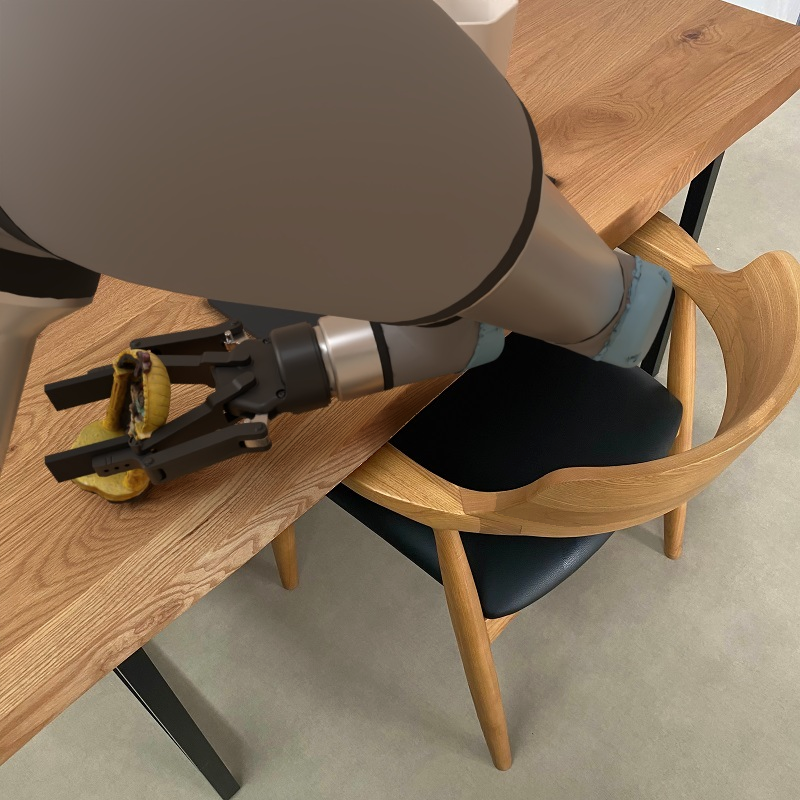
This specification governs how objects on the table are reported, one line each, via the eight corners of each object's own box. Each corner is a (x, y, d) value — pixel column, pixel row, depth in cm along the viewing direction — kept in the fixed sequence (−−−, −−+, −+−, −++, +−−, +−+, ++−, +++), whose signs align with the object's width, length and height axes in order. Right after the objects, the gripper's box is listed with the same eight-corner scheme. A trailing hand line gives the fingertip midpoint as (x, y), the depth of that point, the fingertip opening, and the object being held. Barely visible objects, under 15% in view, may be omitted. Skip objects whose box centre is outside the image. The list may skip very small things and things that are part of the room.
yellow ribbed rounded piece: (208, 428, 74) (161, 312, 63) (203, 501, 69) (151, 389, 58) (85, 443, 74) (15, 329, 63) (71, 517, 69) (-8, 408, 58)
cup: (511, 117, 103) (518, -20, 90) (510, 163, 97) (518, 22, 84) (425, 117, 104) (420, -18, 91) (419, 162, 98) (412, 24, 85)
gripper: (357, 479, 65) (71, 559, 62) (306, 316, 77) (66, 376, 74) (346, 422, 59) (30, 507, 56) (293, 256, 71) (32, 318, 68)
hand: (51, 432), depth 65 cm, fingers closed on yellow ribbed rounded piece, 7 cm apart
